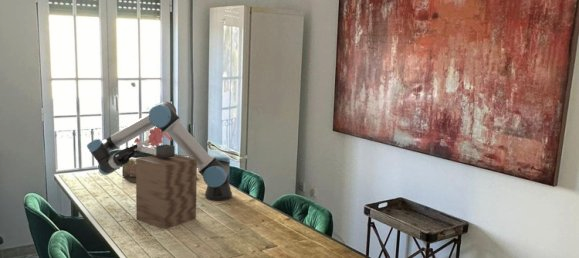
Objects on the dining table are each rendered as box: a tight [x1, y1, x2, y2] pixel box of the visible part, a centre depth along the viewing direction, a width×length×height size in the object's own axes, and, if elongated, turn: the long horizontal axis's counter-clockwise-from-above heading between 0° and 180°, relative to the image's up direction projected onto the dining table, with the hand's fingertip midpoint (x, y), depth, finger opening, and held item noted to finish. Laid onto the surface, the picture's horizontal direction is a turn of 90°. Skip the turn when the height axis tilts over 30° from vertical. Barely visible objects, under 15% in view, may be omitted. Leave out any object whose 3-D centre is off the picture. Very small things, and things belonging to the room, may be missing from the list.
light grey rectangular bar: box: [131, 142, 176, 158], centre depth 243 cm, size 6×26×5 cm, turn 55°
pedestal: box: [135, 153, 198, 230], centre depth 239 cm, size 20×20×30 cm
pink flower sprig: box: [133, 127, 173, 147], centre depth 299 cm, size 15×26×35 cm, turn 147°
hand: (144, 143), depth 245 cm, fingers closed on light grey rectangular bar, 3 cm apart
